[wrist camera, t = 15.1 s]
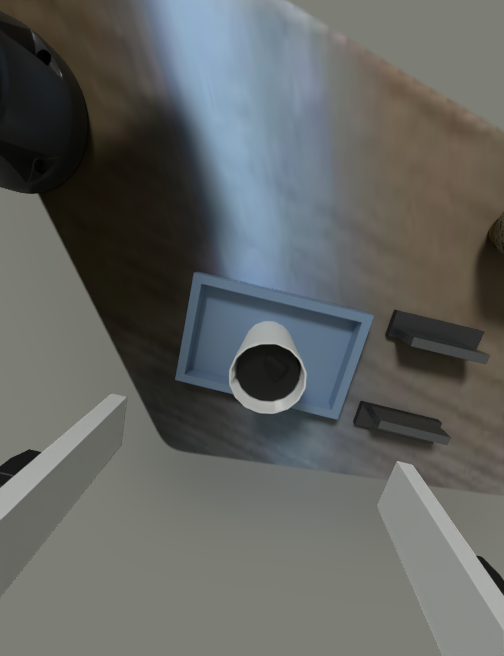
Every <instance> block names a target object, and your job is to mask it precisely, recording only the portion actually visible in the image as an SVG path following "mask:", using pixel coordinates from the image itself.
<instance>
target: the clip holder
mask: <svg viewBox="0 0 504 656" xmlns="http://www.w3.org/2000/svg"><path fill="white" fill-rule="evenodd" d="M483 334H484V331H481V330H477V329H473V328H469V327H465V326H460V325H456V324H452V323H448V322H444V321H440V320H435V319H431V318H427V317H423V316H419V315H415V314H411V313H406V312H402V311H398V310H394V312H393V315H392V318H391V320H390V323H389V326H388V328H387V331H386V335H388V336H391V337H396V338H398V339H400V340H401V341H403V342H405V343H406V344H408V345H410V346H412V347H416V348H420V349H425V350H429V351H433V352H437V353H441V354H445V355H449V356H454V357H458V358H462V359H466V360H470V361H474V362H478V363H482V364H486V363H487V361H488V359H489V357H490V355H488V354H486V353H483V352H481V351H478V350H476V349H477V347H478V345H479V342H480V340H481V338H482V336H483ZM353 422H354V424H355V425H358V426H362V427H366V428H371V429H375V430H379V431H383V432H387V433H391V434H395V435H399V436H403V437H407V438H411V439H415V440H419V441H424V442H428V443H432V444H433V442H437V443H441V444H445V445H447V444H448V442H449V440H450V438H451V437H450V436H449V435H448V434H447V433H446V432H445V431H444V430H442V429H441V428H440V427H441V425H442V423H441V422H440V421H439V420H438V419H434V418H429V417H425V416H421V415H417V414H413V413H409V412H405V411H401V410H397V409H393V408H388V407H384V406H380V405H376V404H372V403H368V402H364V401H360V404H359V407H358V410H357V412H356V415H355V418H354V420H353Z"/></svg>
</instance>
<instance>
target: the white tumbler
mask: <svg viewBox="0 0 504 656" xmlns="http://www.w3.org/2000/svg"><path fill="white" fill-rule="evenodd" d="M306 376H307V373H306V370H305V368H304V365H303V362H302V360H301V357H300V355H299V353H298V351H297V349H296V346H295V344H294V342H293V340H292V338H291V335H290V333H289V332H288V330H287V329H286V328H285V327H284V326H283V325H281V324H278V323H276V322H274V321H264V322H261V323H258V324H255V325H254V326H253V327H252V328H251V329H250V330H249V331H248V333H247V335H246V337H245V339H244V341H243V343H242V345H241V347H240V348H239V350H238V352H237V354H236V356H235V358H234V361H233V363H232V365H231V367H230V369H229V385H230V387H231V389H232V392H233V394H234V396H235V398H236V399H237V400H238V401H239V402H240V403H241V404H242V405H243V406H245V407H246V408H248V409H251V410H253V411H255V412H258V413H268V414H275V413H278V412H281V411H284V410H287V409H289V408H290V407H291V406H293V405H294V404H295V403H296V402H297V401H299V399H300V397H301V396H302V394H303V392H304V390H305V388H306Z"/></svg>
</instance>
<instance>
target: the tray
mask: <svg viewBox="0 0 504 656" xmlns="http://www.w3.org/2000/svg"><path fill="white" fill-rule="evenodd" d="M373 318H374V316H373V315H371V314H370V313H368V312H365V311H361V310H357V309H353V308H348V307H344V306H340V305H336V304H332V303H328V302H324V301H319V300H315V299H311V298H307V297H303V296H299V295H295V294H290V293H286V292H282V291H278V290H274V289H270V288H265V287H261V286H257V285H253V284H249V283H245V282H241V281H236V280H232V279H228V278H224V277H220V276H216V275H212V274H207V273H203V272H194V275H193V281H192V287H191V293H190V298H189V304H188V310H187V315H186V321H185V327H184V332H183V338H182V344H181V349H180V355H179V361H178V367H177V372H176V378H175V380H177V381H181V382H185V383H189V384H194V385H198V386H202V387H206V388H210V389H214V390H218V391H222V392H226V393H230V394H233V392H232V389H231V387H230V385H229V369H230V367H231V365H232V363H233V361H234V358H235V356H236V354H237V352H238V350H239V348H240V347H241V345H242V343H243V341H244V339H245V337H246V335H247V333H248V331H249V330H250V329H251V328H252V327H253V326H254V325H255V324H258V323H261V322H264V321H274V322H276V323H278V324H281V325H283V326H284V327H285V328H286V329H287V330H288V332H289V333H290V335H291V338H292V340H293V342H294V344H295V346H296V349H297V351H298V353H299V355H300V357H301V360H302V362H303V365H304V368H305V370H306V373H307V376H306V388H305V390H304V392H303V394H302V396H301V397H300V399H299V401H297V402H296V403H295V404H294V405H293V406H291V407H290V408H291V409H296V410H300V411H304V412H308V413H312V414H316V415H320V416H324V417H328V418H332V419H336V420H338V417H339V414H340V411H341V409H342V406H343V403H344V400H345V397H346V394H347V392H348V389H349V386H350V383H351V380H352V377H353V375H354V372H355V369H356V366H357V363H358V360H359V358H360V355H361V352H362V349H363V346H364V343H365V340H366V338H367V335H368V332H369V329H370V326H371V323H372V321H373Z"/></svg>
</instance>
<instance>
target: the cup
mask: <svg viewBox="0 0 504 656" xmlns="http://www.w3.org/2000/svg"><path fill="white" fill-rule="evenodd" d="M489 240H490V242H491V244H492V245H493V246H495V247H496V248H498V250H499V251H500V252H501V253H502V254H503V255H504V212H503V213H502V215H501V216H500V218H498V219H497V220H496V221H495V222H494V223H493V224H492V226H491V228H490V230H489Z"/></svg>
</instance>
